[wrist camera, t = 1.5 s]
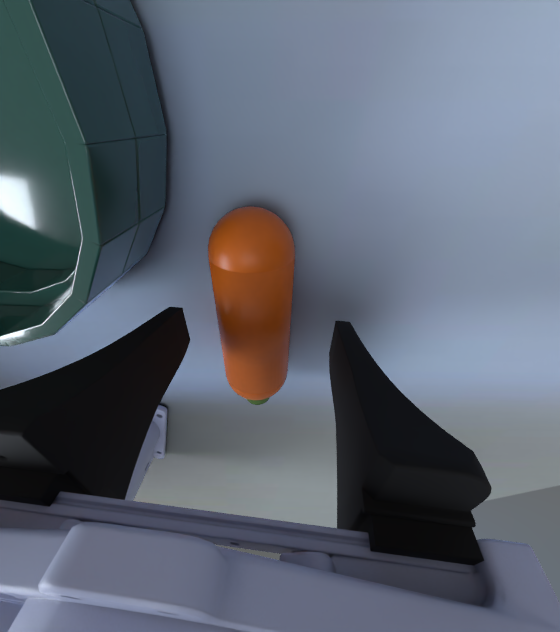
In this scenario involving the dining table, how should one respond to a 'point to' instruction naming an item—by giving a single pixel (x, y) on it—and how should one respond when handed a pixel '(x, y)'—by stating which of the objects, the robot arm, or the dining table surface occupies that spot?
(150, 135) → the green glass bowl
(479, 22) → the dining table surface
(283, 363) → the carrot
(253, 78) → the dining table surface
